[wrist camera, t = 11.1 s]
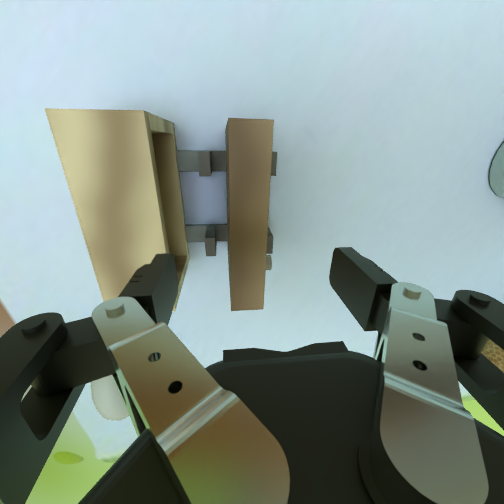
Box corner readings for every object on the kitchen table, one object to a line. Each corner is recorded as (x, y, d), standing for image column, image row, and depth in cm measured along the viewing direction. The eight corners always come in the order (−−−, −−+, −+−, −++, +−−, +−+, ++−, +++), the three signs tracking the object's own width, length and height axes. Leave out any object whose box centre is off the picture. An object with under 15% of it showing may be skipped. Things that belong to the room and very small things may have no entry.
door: (263, 130, 24) (298, 120, 13) (259, 247, 30) (280, 308, 19) (225, 129, 24) (228, 118, 13) (227, 248, 29) (231, 310, 18)
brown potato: (500, 294, 39) (586, 341, 30) (494, 333, 42) (568, 385, 33) (446, 313, 39) (514, 364, 30) (444, 350, 43) (504, 405, 34)
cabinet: (268, 124, 24) (296, 113, 15) (264, 256, 31) (282, 303, 22) (114, 122, 23) (44, 108, 14) (143, 261, 29) (107, 315, 20)
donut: (112, 315, 32) (69, 384, 23) (139, 311, 32) (106, 377, 23) (135, 367, 36) (107, 443, 27) (159, 363, 36) (138, 437, 27)
